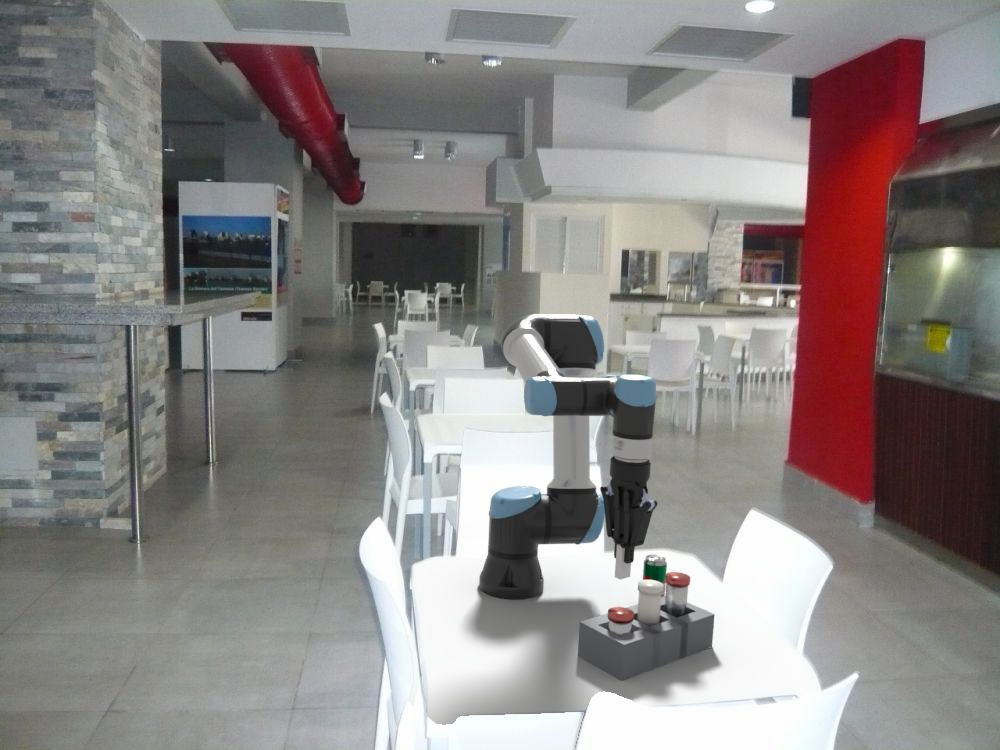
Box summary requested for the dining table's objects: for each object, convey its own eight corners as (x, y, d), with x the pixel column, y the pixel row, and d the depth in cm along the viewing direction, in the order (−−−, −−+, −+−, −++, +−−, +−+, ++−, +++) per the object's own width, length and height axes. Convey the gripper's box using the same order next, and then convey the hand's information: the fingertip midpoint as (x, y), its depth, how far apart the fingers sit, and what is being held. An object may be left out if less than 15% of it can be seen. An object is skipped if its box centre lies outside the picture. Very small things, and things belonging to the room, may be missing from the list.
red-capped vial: (599, 654, 170) (602, 610, 169) (617, 648, 173) (620, 605, 172) (618, 664, 166) (621, 619, 165) (636, 658, 170) (639, 613, 168)
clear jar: (657, 617, 180) (660, 575, 178) (673, 611, 183) (676, 570, 181) (675, 625, 176) (679, 582, 174) (692, 620, 179) (695, 578, 178)
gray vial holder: (621, 680, 162) (624, 644, 161) (577, 655, 172) (579, 621, 171) (711, 646, 178) (714, 614, 177) (667, 625, 188) (669, 594, 187)
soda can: (663, 615, 193) (667, 562, 192) (640, 612, 194) (643, 560, 193) (663, 606, 198) (667, 555, 197) (641, 603, 199) (644, 552, 198)
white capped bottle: (629, 625, 175) (632, 582, 173) (647, 620, 178) (650, 577, 177) (648, 635, 171) (651, 590, 170) (665, 629, 174) (668, 585, 173)
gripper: (592, 452, 167) (584, 569, 171) (642, 468, 157) (633, 592, 161) (620, 447, 172) (612, 562, 176) (670, 463, 162) (661, 584, 165)
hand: (622, 576), depth 168 cm, fingers closed
